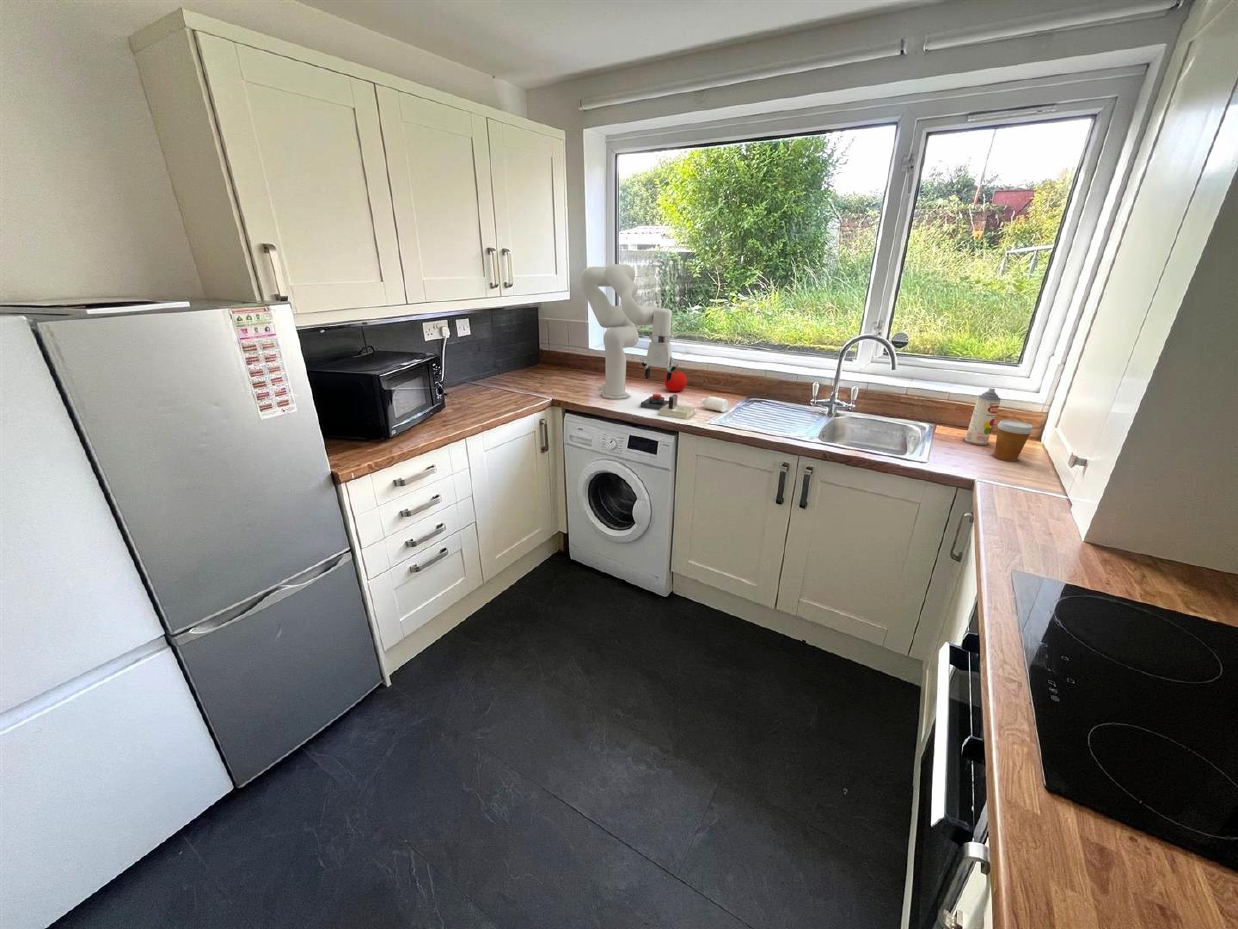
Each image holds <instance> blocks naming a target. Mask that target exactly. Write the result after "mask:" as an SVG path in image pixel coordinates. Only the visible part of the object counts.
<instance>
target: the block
mask: <svg viewBox="0 0 1238 929" xmlns="http://www.w3.org/2000/svg"><path fill="white" fill-rule="evenodd" d="M667 404H669V400H667V399H666V400H665V397H664V396H661V399H653V395H652V396H651V395H650V396H649V397H648V398H646V399H644V400H643V401H641V403H640V408H644V409H651V410H658V411H660V409H661V408H662V407H663V406H665V405H667Z"/></svg>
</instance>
